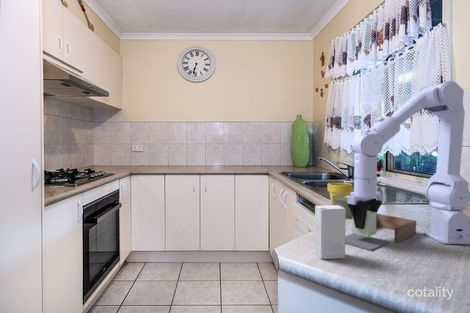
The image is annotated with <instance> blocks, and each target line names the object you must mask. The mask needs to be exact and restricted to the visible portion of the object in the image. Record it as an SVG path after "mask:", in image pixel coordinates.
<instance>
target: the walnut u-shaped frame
mask: <svg viewBox="0 0 470 313" xmlns="http://www.w3.org/2000/svg"><path fill="white" fill-rule="evenodd" d="M376 227H380V228H384V229H389V230H393V231H394V238H393V239H394V243H400V242H401V241H403V240H406V239H408V238H410V237H412V236H415V235H416V234H417V220H414V219H413V220H412V219H409V218H403V217H398V216H392V215H387V214H382V213H381V214H380V213H377V214H376Z"/></svg>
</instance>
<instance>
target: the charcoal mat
mask: <svg viewBox="0 0 470 313" xmlns="http://www.w3.org/2000/svg"><path fill="white" fill-rule="evenodd" d="M389 243H390V241H388V240H385V239H380V238H378V237H377V238H376V237H373V236H369V237H366V236H362V235H359V234H355V233H350V234H347V235H345V245H349V246H351V247H356V248H359V249H362V250H367V251H369V252H372V251H375V250H376V249H379V248H381V247H383V246H385V245H387V244H389Z"/></svg>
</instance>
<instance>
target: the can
mask: <svg viewBox="0 0 470 313" xmlns="http://www.w3.org/2000/svg"><path fill="white" fill-rule="evenodd" d="M348 196H350V195H337V196H333V197H332V204H331V205H338V206H341V207H343V208H345V209H346V212H345V220H352V217H353V216H352V213H351V211H350V209H349V207H348V205H347V200H348Z"/></svg>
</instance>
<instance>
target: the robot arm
mask: <svg viewBox="0 0 470 313" xmlns="http://www.w3.org/2000/svg"><path fill="white" fill-rule="evenodd" d="M464 91H465V90H464V89H463V87H461V86H460V85H459V83H457V82H455V81H453V80H447V81H445V82H442V83H438V84H435V85H431V86H425V87H421V88H420V89H419V90H418V91H416V92H415V93H413V94H412V96H411V97H410V98H409V99H408V100H407V101H406V102H405V103H403V105H402V106H401V107H399V108H398V109H397V110H396V111H395V112H394V113H392V115H390V116H389V115H388V116H387V115H386V116H381V117H378V118H377V119H376V123H374V124H373V125H372V126H371V127H370V128H366V129H364V131H363V134H362V135H361V134H360V135H358V136H355V137H354V139H353V140H352V143H351V144H350V151H351V152H352V153H353V156H354V157H353V159H354V163H353V164H354V169H353V171H354V174H353V191H352V192H350V196H348V200H347V205H348V207H349V209H350V211H351V213H352V216H353V219H354V224H355V227H356V228H358V229H364V226H365V220H366V215H367V211H372V212H377V213H376V214H378V211H379V209H380V208H381V206H382V204H383V201H382V200H381V199H382V191H377V190H378V189H377V187H378V186H377V185H378V184H377V183H378V177H377V176H378V154H380V153H381V152H382V150H383V147H384V145H385V144H386V143H387V142H389V141H390V140H391V139H392V138H394V137H395V136H396V135H397V134H398V133H399V132H400V131H401V125H402V124H403V123H404V122H406V121H408V120H409V119H410V118H411V117H413V116H414V115H416V114H417V113H418V112H419V111H421V110H422V109H423V110H425V111H427V112H429V113H431V114H433V115H435V117H437V118H438V119H439V133H438V144H437V155H436V156H437V159H436V169H435V170H436V172H435V173H434V174H433V175H432V176H431V177H430V178H429V179H428V185H426V187H425V192H424V195H425V198H426V200H427V201H428V202H429V205H430V206H431V208H430V231H424V232H423V234H424V235H426V236H428V237H430V238H432V239H434V240H436V241H437V242H440V243H441V244H444V245H445V244H446V245H447V244H448V245H449V244H450V245H470V217H469V216H468V214H466V213H465V212H464V211H465V208H466V207H468V206H469V204H470V190H469V182H468V180H466V179H465V178H464V177H463V176H462V175H461V163H462V153H463V152H462V151H463V149H462V148H463V140H464V127H465V118H466V117H465V114H466V113H465V112H466V111H465V108H464V107H465V106H464Z"/></svg>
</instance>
